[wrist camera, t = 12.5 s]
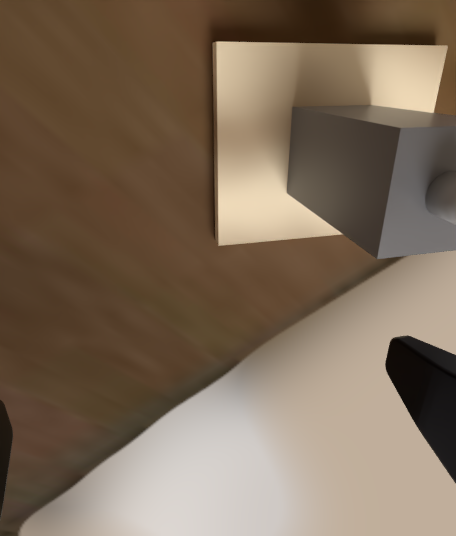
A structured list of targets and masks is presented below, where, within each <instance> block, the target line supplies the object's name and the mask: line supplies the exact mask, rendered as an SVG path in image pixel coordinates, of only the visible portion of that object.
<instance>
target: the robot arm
mask: <svg viewBox="0 0 456 536" xmlns="http://www.w3.org/2000/svg"><path fill="white" fill-rule="evenodd" d="M385 365H386V371H387V373H388V375H389V377H390V379H391V381H392V383H393V384H394V386H395V388H396V390H397V392H398V394H399V395H400V397H401V399H402V401H403V403H404V404H405V406H406V408H407V410H408V412H409V413H410V415H411V417H412V419H413V420H414V422H415V424H416V425H417V427H418V429H419V430H420V432H421V433H422V435H423V436H424V438H425V439H426V441H427V442H428V444H429V445H430V447H431V448H432V450H433V451H434V453H435V454H436V455H437V457H438V458H439V460H440V461H441V463H442V464H443V466H444V467H445V469H446V470H447V472H448V473H449V475H450V476H451V477H452V479H453V480H454V482H455V483H456V355H454V354H452V353H449V352H447V351H445V350H442V349H439V348H437V347H435V346H433V345H430V344H428V343H425V342H423V341H420V340H418V339H415V338H413V337H411V336H400V337H395V338H393V339H392V340H391V341H390V345H389V349H388V354H387V358H386V364H385ZM12 439H13V431H12V426H11V423H10V420H9V417H8V414H7V411H6V408H5V405H4V403H3V402H2V401H1V400H0V518H1V513H2V507H3V501H4V494H5V488H6V481H7V474H8V467H9V460H10V453H11V447H12Z"/></svg>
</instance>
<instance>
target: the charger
mask: <svg viewBox="0 0 456 536" xmlns="http://www.w3.org/2000/svg"><path fill="white" fill-rule="evenodd" d="M287 194H288V195H290V196H291V197H293V198H294V199H295V200H297V201H298V202H299V203H301V204H302V205H304V206H305V207H306V208H308V209H309V210H310V211H312V212H313V213H315V214H316V215H317V216H319V217H320V218H321V219H323V220H324V221H326V222H327V223H328V224H330V225H331V226H332V227H334V228H335V229H337V230H338V231H339V232H341V233H342V234H343V235H345V236H346V237H348V238H349V239H350V240H352V241H353V242H354V243H356V244H357V245H359V246H360V247H361V248H363V249H364V250H365V251H367V252H368V253H370V254H371V255H372V256H374V257H375V258H376V259H381V258H390V257H399V256H408V255H417V254H426V253H435V252H444V251H453V250H456V116H454V115H446V114H438V113H430V112H422V111H415V110H407V109H399V108H391V107H383V106H375V105H348V106H301V107H292V119H291V134H290V150H289V165H288V181H287Z"/></svg>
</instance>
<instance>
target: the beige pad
mask: <svg viewBox="0 0 456 536" xmlns="http://www.w3.org/2000/svg"><path fill="white" fill-rule="evenodd" d="M447 47H448V46H433V45H378V44H323V43H268V42H214V43H213V110H214V180H215V240H216V242H217V244H218V245H219V246H220V245H231V244H242V243H253V242H263V241H274V240H285V239H296V238H306V237H317V236H328V235H339V234H342V233H341V232H339V231H338V230H337V229H335V228H334V227H332V226H331V225H330V224H328V223H327V222H326V221H324V220H323V219H321V218H320V217H319V216H317V215H316V214H315V213H313V212H312V211H310V210H309V209H308V208H306V207H305V206H304V205H302V204H301V203H299V202H298V201H297V200H295V199H294V198H293V197H291V196H290V195H288V194H287V181H288V165H289V150H290V134H291V119H292V107H301V106H348V105H375V106H383V107H391V108H399V109H407V110H415V111H422V112H430V113H433V112H434V108H435V103H436V98H437V94H438V89H439V84H440V80H441V75H442V71H443V66H444V61H445V57H446V52H447Z"/></svg>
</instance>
